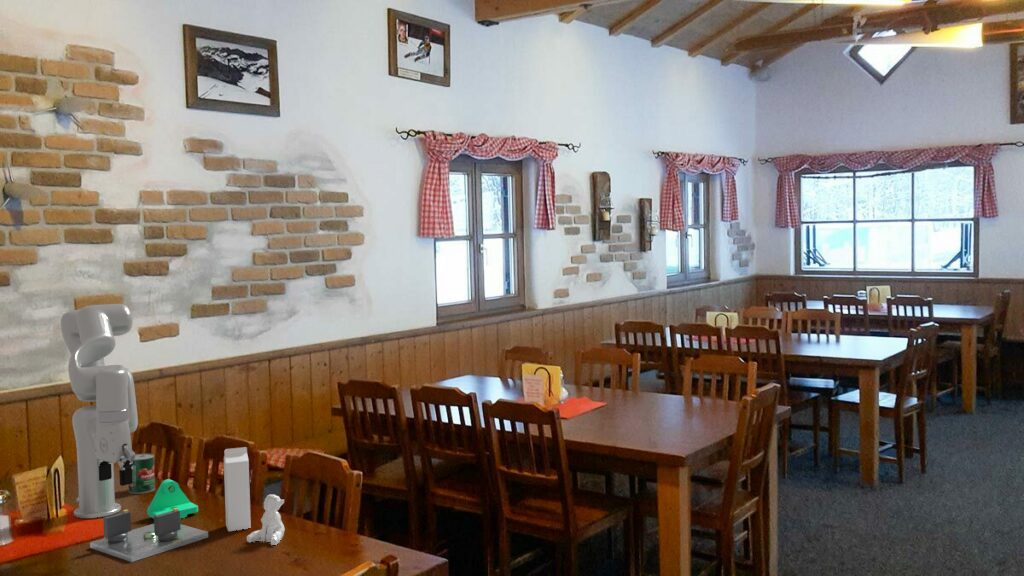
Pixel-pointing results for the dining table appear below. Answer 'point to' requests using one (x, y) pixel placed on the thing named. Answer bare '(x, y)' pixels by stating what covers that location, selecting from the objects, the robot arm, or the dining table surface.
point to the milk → (237, 489)
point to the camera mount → (170, 500)
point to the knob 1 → (117, 526)
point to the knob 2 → (167, 525)
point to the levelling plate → (147, 543)
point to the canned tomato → (143, 474)
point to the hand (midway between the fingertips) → (115, 482)
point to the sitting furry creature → (270, 522)
